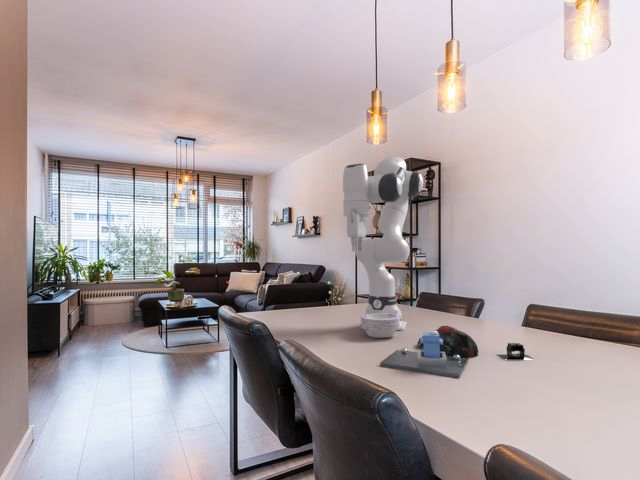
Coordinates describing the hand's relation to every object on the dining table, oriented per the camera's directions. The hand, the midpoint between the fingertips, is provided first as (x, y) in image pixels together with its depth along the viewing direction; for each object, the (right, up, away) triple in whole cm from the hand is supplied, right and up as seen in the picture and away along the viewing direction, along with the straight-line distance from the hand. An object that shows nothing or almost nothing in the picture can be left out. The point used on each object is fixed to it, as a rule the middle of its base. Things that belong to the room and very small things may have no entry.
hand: (357, 251), depth 128 cm
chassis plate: (+18, -33, -17) cm, 41 cm away
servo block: (+20, -32, -18) cm, 42 cm away
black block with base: (+49, -34, -11) cm, 60 cm away
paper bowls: (+11, -34, +20) cm, 42 cm away
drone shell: (+31, -34, 0) cm, 46 cm away
